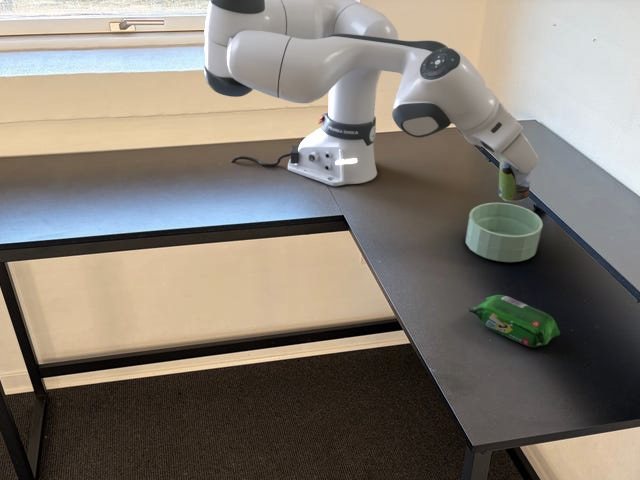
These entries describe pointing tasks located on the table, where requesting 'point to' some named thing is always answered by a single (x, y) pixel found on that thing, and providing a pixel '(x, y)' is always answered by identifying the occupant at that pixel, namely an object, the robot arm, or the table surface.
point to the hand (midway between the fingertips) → (516, 164)
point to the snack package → (516, 320)
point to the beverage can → (512, 183)
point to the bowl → (503, 232)
